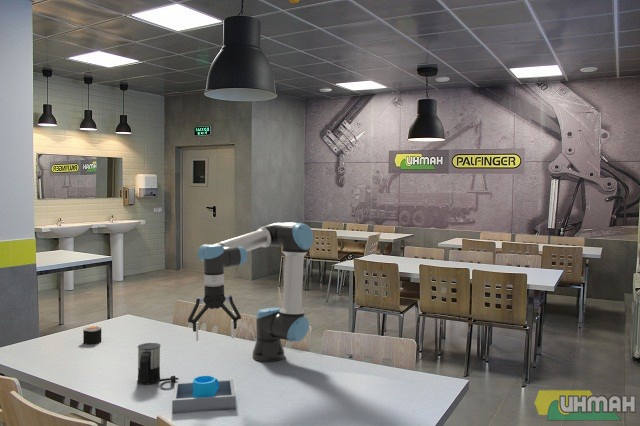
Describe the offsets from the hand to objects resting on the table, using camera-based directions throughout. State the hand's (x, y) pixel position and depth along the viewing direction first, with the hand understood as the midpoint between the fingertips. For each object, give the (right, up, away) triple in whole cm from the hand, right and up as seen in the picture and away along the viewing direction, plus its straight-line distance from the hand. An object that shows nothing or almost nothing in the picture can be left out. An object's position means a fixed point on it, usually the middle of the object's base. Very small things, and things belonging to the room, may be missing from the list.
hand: (215, 338), depth 203 cm
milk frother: (-26, -21, +10) cm, 34 cm away
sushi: (-76, -18, +63) cm, 100 cm away
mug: (-1, -21, -9) cm, 23 cm away
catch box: (-2, -22, -9) cm, 24 cm away
